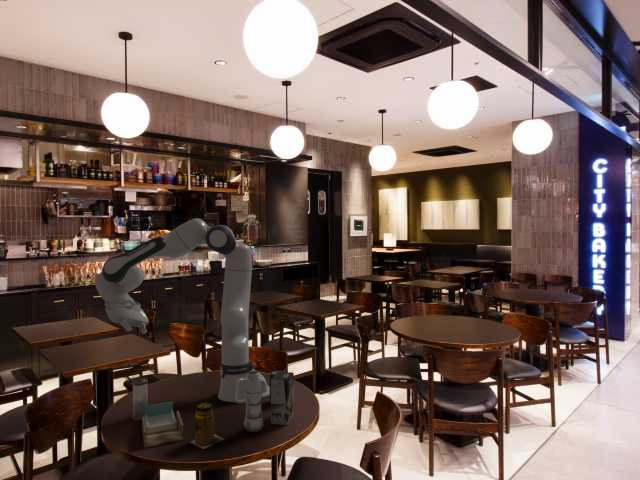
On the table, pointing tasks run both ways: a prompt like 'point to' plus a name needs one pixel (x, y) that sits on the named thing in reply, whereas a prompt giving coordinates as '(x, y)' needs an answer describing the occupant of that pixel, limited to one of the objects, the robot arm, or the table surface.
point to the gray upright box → (272, 377)
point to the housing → (163, 434)
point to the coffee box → (282, 398)
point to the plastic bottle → (253, 402)
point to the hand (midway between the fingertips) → (137, 331)
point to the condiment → (205, 426)
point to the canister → (140, 397)
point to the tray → (160, 417)
